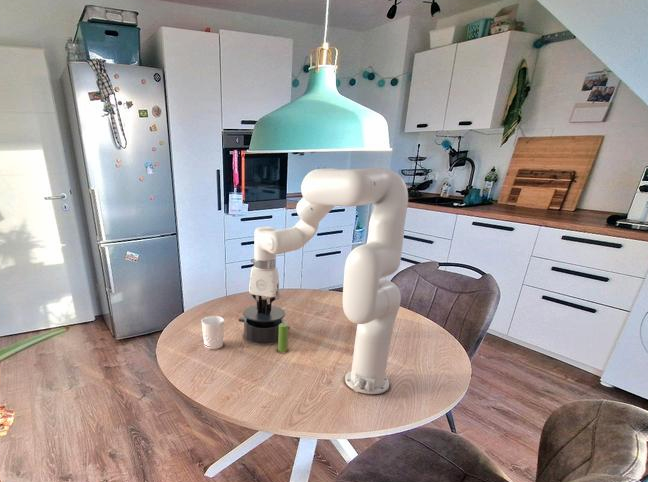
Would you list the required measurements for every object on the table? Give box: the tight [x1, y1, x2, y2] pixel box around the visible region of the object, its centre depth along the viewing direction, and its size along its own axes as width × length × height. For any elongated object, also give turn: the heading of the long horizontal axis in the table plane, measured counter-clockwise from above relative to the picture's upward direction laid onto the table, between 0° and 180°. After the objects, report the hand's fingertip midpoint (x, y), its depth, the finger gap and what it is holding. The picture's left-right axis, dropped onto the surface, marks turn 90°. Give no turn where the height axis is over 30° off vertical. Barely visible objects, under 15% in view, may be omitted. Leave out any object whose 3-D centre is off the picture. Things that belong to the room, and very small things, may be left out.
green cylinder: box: [277, 322, 289, 353], centre depth 133 cm, size 3×3×10 cm
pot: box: [238, 316, 291, 345], centre depth 145 cm, size 15×20×6 cm
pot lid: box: [242, 296, 286, 322], centre depth 141 cm, size 16×16×7 cm
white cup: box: [200, 315, 225, 350], centre depth 137 cm, size 8×8×10 cm
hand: (263, 312), depth 142 cm, fingers closed on pot lid, 2 cm apart
